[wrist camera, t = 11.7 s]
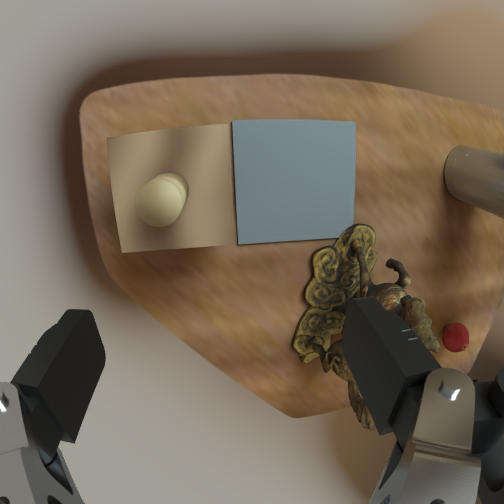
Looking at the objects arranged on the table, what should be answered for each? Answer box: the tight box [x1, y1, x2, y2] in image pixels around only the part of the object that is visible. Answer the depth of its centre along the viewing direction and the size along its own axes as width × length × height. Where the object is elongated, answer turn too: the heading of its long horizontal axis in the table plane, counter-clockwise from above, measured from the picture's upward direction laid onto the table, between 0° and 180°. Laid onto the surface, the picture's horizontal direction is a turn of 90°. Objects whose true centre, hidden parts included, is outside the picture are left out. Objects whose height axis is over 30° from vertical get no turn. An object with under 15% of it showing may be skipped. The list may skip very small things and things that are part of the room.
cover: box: [107, 124, 235, 253], centre depth 28 cm, size 10×10×19 cm
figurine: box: [292, 224, 439, 430], centre depth 36 cm, size 13×25×20 cm, turn 162°
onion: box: [442, 323, 469, 352], centre depth 48 cm, size 6×6×8 cm
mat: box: [232, 119, 356, 244], centre depth 38 cm, size 16×16×1 cm
